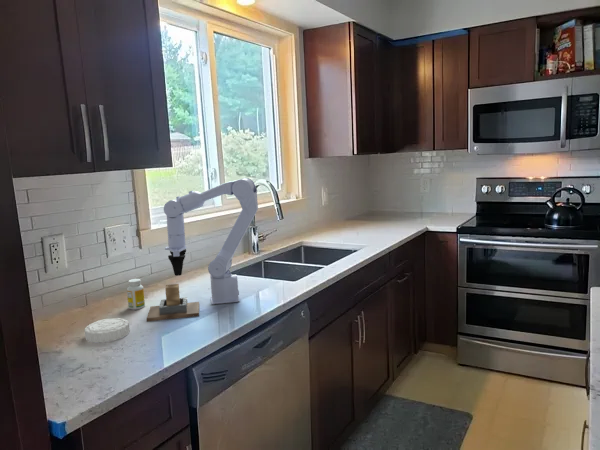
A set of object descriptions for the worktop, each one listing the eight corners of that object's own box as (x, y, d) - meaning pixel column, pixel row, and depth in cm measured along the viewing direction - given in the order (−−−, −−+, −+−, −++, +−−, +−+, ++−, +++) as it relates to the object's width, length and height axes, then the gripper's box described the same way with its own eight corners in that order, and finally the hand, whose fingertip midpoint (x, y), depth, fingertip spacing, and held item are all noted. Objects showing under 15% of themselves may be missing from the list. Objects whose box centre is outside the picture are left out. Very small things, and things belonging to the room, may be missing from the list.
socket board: (199, 304, 159) (198, 294, 159) (199, 315, 148) (198, 305, 147) (150, 309, 156) (149, 299, 156) (146, 321, 145) (145, 310, 144)
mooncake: (113, 325, 143) (112, 314, 142) (138, 332, 137) (137, 320, 136) (76, 338, 133) (75, 326, 133) (102, 346, 127) (100, 334, 126)
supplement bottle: (126, 310, 156) (124, 282, 155) (130, 305, 161) (128, 278, 160) (143, 309, 157) (140, 281, 155) (146, 304, 162) (144, 277, 161)
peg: (180, 307, 154) (178, 283, 153) (180, 310, 150) (178, 287, 149) (168, 308, 153) (166, 284, 152) (167, 312, 149) (165, 288, 148)
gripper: (165, 231, 167) (168, 268, 169) (162, 238, 153) (165, 278, 155) (186, 230, 168) (188, 267, 170) (184, 237, 154) (187, 277, 156)
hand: (178, 272), depth 162 cm, fingers open, 7 cm apart
